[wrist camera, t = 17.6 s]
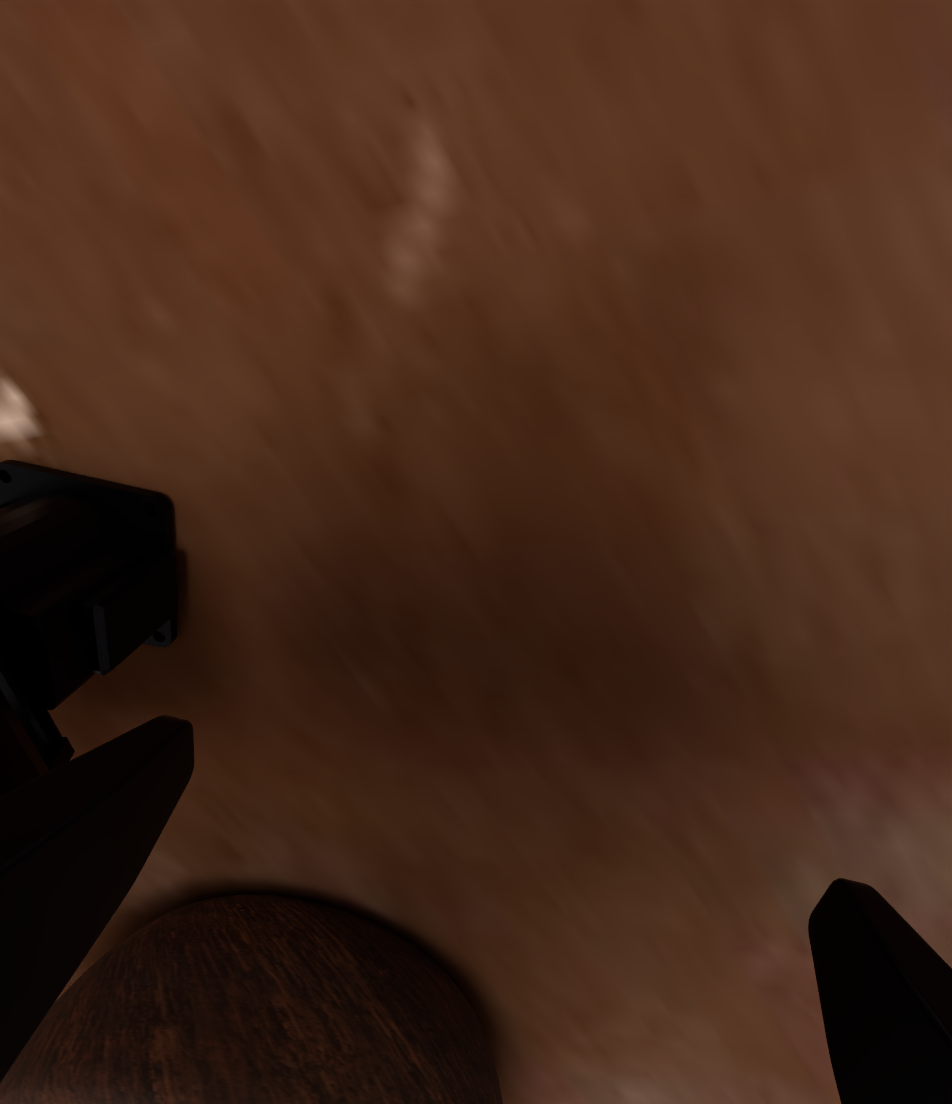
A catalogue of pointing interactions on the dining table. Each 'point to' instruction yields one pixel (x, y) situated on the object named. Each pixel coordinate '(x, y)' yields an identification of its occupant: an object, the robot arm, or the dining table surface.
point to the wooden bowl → (258, 1017)
